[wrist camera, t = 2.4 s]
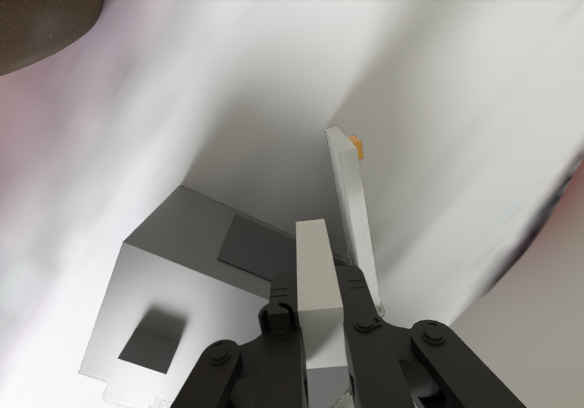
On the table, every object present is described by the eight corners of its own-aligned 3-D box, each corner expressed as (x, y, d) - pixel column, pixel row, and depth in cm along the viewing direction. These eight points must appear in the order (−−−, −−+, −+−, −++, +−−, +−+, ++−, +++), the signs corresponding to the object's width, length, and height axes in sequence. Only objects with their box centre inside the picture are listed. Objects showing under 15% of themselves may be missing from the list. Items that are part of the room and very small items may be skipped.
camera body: (311, 349, 35) (321, 484, 23) (141, 285, 31) (54, 406, 20) (369, 268, 31) (416, 384, 19) (180, 183, 27) (99, 263, 16)
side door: (347, 260, 30) (366, 322, 22) (322, 129, 25) (336, 152, 17) (368, 256, 29) (394, 317, 22) (347, 123, 25) (371, 144, 17)
